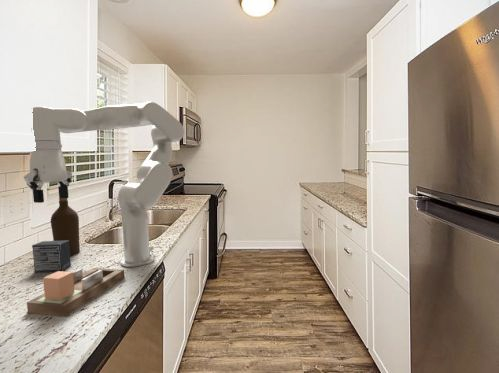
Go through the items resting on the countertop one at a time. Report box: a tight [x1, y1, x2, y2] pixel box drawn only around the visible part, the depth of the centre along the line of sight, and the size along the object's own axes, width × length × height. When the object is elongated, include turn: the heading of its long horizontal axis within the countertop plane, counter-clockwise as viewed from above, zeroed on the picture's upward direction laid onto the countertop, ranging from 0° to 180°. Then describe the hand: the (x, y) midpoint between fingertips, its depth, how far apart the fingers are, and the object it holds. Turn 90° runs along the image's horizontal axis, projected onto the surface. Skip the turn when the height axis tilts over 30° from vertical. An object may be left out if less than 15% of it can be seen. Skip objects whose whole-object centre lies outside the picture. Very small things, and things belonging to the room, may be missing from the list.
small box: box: [31, 240, 72, 273], centre depth 117 cm, size 11×6×10 cm, turn 92°
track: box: [26, 267, 125, 317], centre depth 95 cm, size 26×12×6 cm, turn 168°
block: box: [42, 271, 74, 300], centre depth 87 cm, size 5×5×6 cm
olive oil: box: [50, 197, 81, 256], centre depth 136 cm, size 11×11×25 cm
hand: (52, 200), depth 100 cm, fingers open, 9 cm apart
